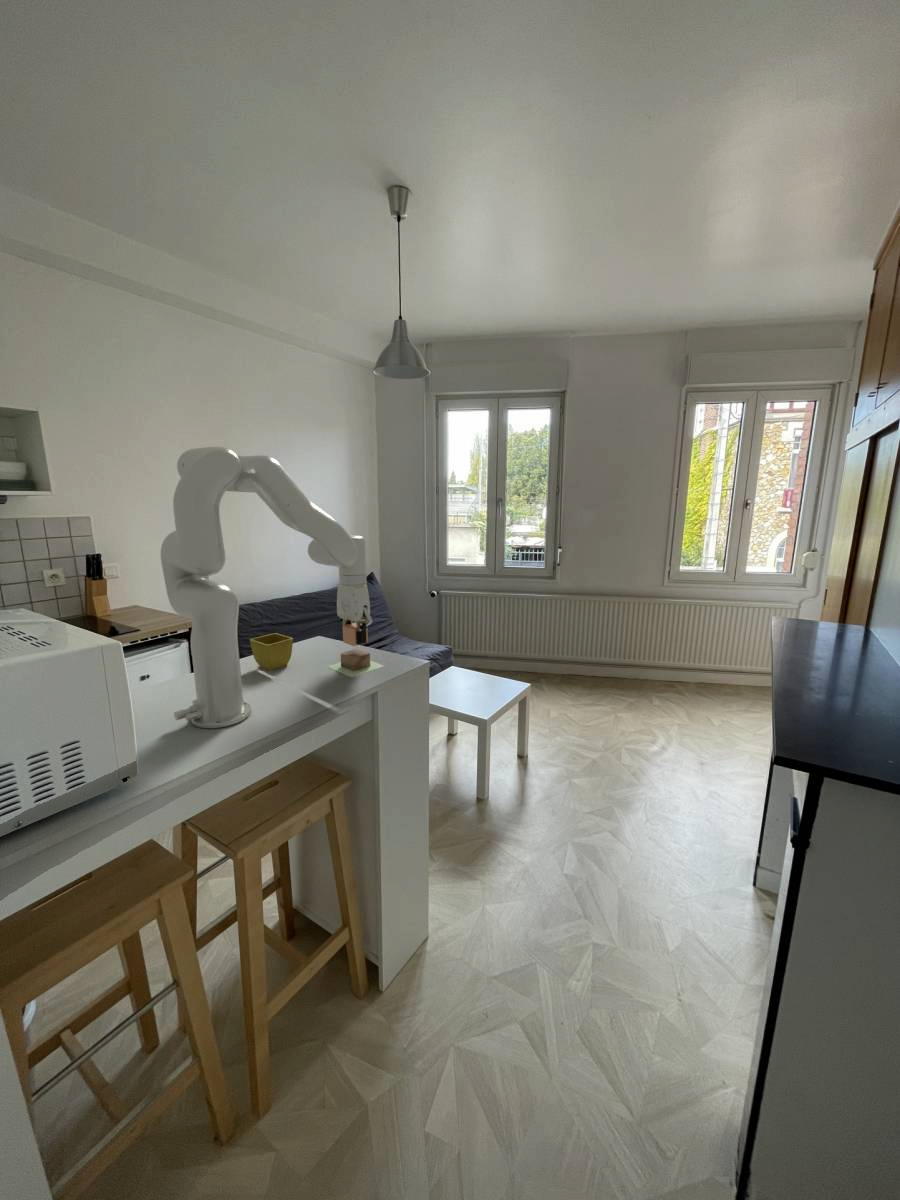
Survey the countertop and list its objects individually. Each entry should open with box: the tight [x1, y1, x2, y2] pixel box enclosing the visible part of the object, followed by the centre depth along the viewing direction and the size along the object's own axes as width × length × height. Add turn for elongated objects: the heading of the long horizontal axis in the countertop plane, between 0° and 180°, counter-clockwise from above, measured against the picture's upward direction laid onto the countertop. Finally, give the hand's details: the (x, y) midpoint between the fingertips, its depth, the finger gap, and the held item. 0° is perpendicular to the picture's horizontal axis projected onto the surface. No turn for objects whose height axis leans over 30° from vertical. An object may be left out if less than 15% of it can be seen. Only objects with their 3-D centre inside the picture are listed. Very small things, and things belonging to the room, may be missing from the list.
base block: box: [340, 648, 371, 671], centre depth 143 cm, size 6×6×4 cm
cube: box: [342, 622, 369, 647], centre depth 142 cm, size 5×5×5 cm
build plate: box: [326, 660, 385, 678], centre depth 144 cm, size 12×12×1 cm
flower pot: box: [249, 632, 294, 671], centre depth 143 cm, size 9×9×9 cm
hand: (355, 640), depth 142 cm, fingers closed on cube, 5 cm apart
